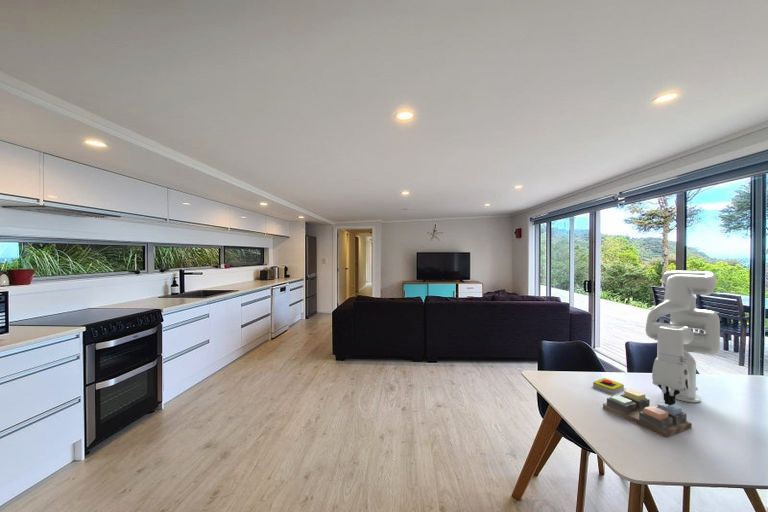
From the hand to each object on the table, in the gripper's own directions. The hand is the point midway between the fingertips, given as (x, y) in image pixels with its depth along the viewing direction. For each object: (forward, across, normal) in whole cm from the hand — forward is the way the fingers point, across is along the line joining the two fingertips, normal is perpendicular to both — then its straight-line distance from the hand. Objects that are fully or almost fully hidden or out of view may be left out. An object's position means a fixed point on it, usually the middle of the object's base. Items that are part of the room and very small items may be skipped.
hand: (669, 404), depth 117 cm
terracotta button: (+5, 0, +9) cm, 10 cm away
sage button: (+6, +12, +9) cm, 16 cm away
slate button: (+4, 0, -1) cm, 4 cm away
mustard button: (+4, +12, -1) cm, 13 cm away
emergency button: (+8, +29, -11) cm, 32 cm away
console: (+8, +6, +4) cm, 11 cm away
